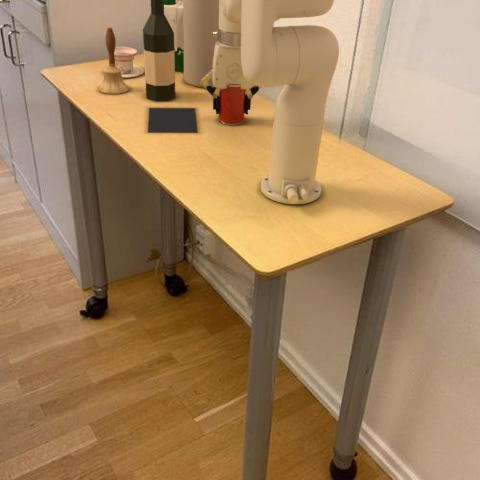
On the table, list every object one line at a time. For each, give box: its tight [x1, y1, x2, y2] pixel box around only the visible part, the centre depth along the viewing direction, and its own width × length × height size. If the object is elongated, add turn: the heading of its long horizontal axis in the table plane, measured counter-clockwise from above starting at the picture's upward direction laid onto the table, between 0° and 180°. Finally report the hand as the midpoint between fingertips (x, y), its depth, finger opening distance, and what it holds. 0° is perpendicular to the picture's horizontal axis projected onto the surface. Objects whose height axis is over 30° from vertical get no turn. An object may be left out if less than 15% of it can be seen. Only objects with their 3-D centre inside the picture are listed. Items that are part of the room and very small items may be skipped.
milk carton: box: [164, 0, 184, 73], centre depth 174 cm, size 9×9×20 cm
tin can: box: [217, 84, 246, 126], centre depth 147 cm, size 7×7×10 cm
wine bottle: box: [142, 0, 176, 102], centre depth 151 cm, size 8×8×30 cm
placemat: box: [147, 107, 199, 134], centre depth 148 cm, size 16×12×1 cm
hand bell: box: [98, 27, 130, 95], centre depth 158 cm, size 8×8×16 cm
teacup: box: [103, 46, 145, 79], centre depth 173 cm, size 12×12×6 cm
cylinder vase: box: [182, 0, 219, 89], centre depth 164 cm, size 12×12×25 cm
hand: (231, 111), depth 148 cm, fingers closed on tin can, 6 cm apart
